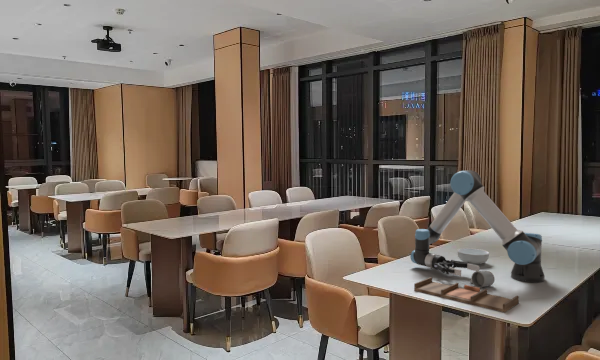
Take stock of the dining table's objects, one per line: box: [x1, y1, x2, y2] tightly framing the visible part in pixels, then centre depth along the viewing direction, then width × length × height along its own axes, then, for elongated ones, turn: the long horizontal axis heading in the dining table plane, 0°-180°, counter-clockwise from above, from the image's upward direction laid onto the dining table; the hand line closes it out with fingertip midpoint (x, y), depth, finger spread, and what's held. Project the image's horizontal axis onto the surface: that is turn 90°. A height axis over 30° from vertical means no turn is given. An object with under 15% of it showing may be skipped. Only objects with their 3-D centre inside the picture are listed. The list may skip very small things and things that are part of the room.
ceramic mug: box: [469, 270, 496, 289], centre depth 215 cm, size 11×8×8 cm
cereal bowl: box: [457, 247, 490, 266], centre depth 257 cm, size 17×17×7 cm
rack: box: [413, 277, 520, 313], centre depth 199 cm, size 41×16×3 cm, turn 45°
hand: (470, 270), depth 219 cm, fingers open, 13 cm apart
